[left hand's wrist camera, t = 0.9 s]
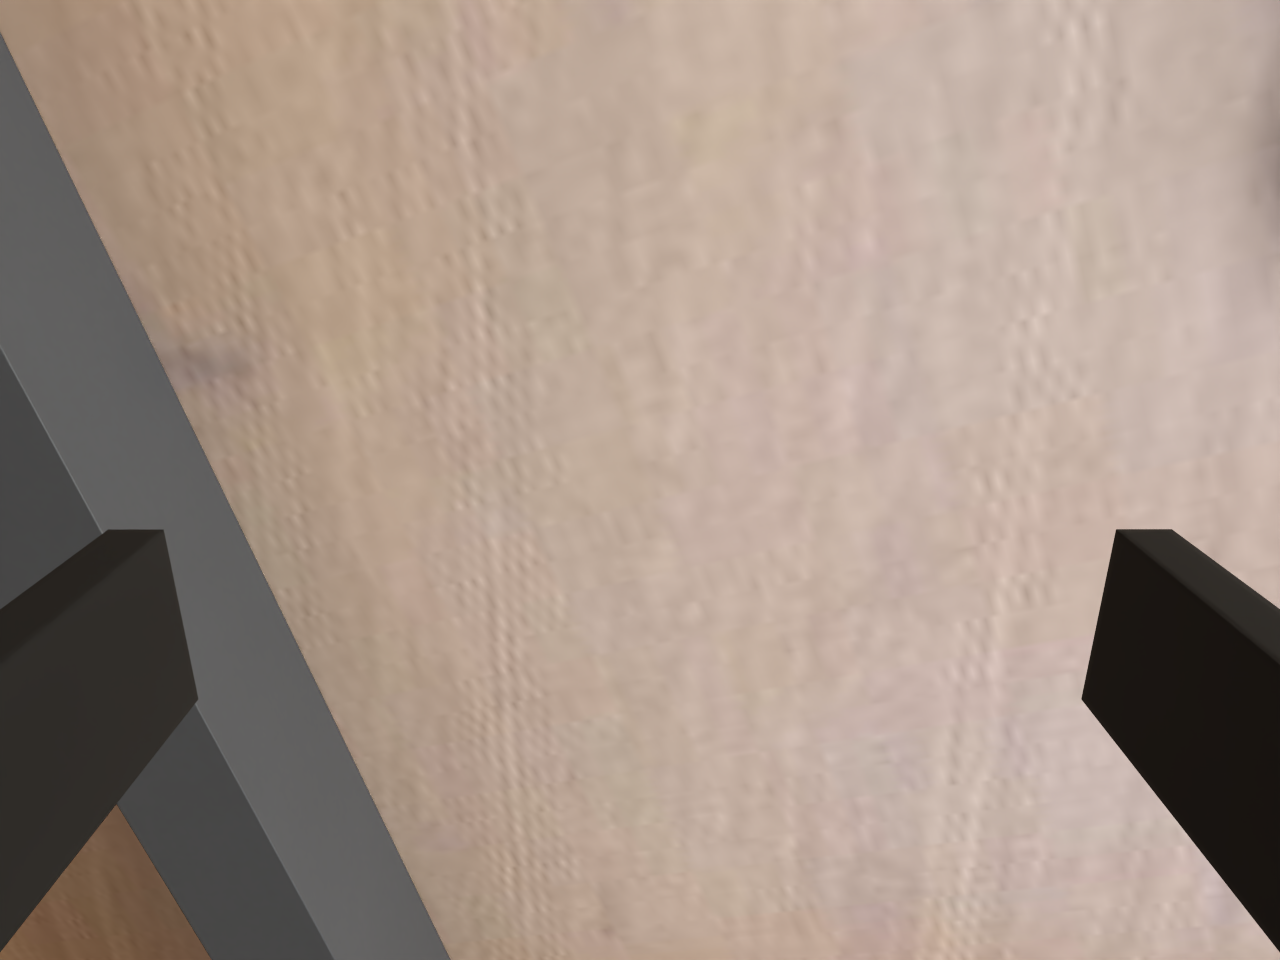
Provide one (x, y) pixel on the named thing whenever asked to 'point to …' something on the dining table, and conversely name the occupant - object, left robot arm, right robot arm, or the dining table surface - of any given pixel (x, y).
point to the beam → (207, 593)
